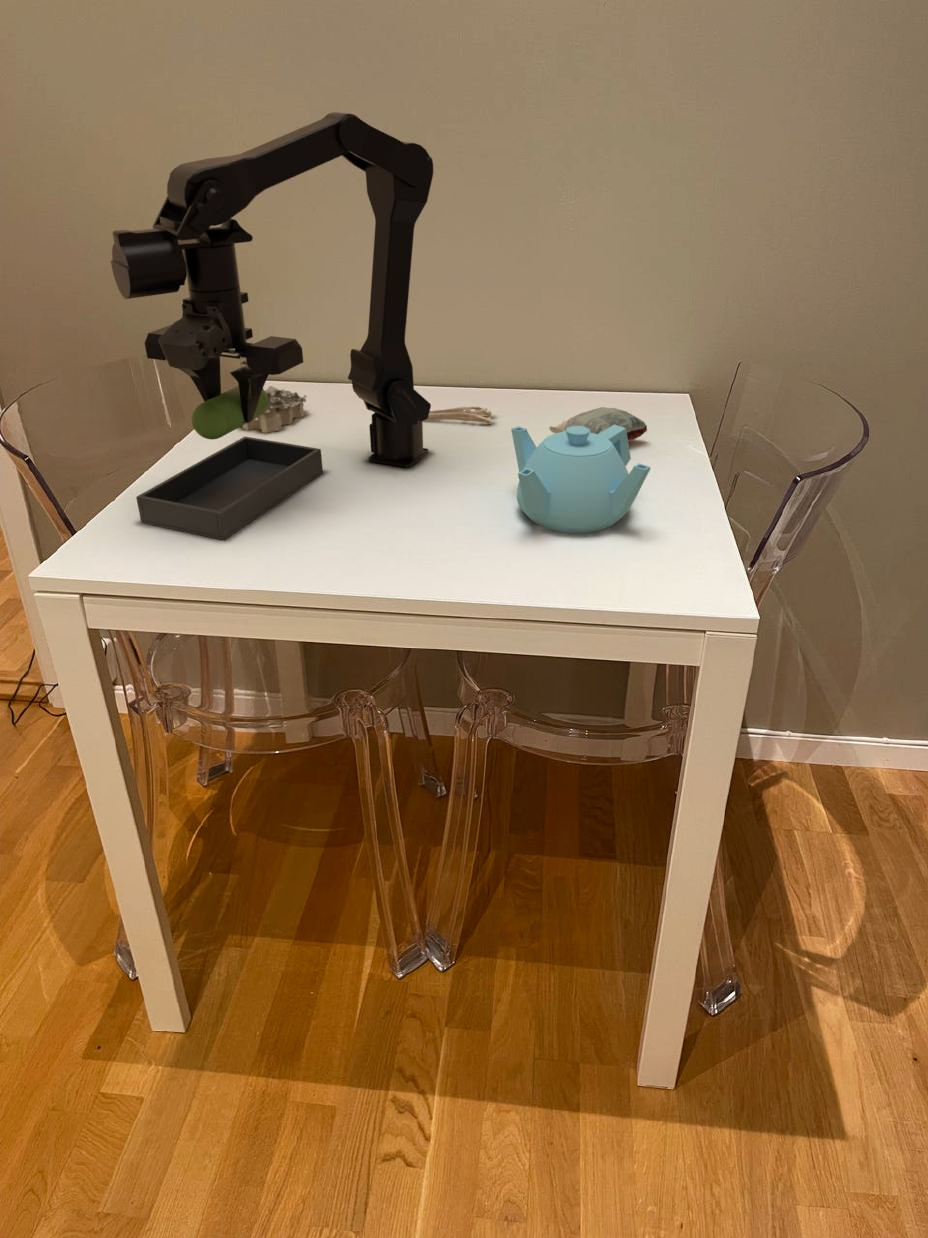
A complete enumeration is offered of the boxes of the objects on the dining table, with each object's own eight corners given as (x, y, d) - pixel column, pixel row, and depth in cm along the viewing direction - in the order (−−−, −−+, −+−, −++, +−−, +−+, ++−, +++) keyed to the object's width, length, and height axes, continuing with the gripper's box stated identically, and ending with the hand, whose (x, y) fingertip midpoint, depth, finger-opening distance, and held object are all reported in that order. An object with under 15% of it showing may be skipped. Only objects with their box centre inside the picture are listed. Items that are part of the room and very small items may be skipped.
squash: (276, 414, 120) (272, 379, 117) (217, 446, 110) (212, 410, 108) (247, 409, 121) (243, 375, 119) (187, 441, 112) (181, 405, 109)
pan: (323, 472, 127) (321, 448, 126) (224, 540, 110) (220, 513, 108) (247, 459, 132) (244, 436, 130) (141, 522, 114) (135, 496, 113)
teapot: (646, 540, 110) (655, 452, 104) (516, 541, 109) (519, 453, 104) (625, 487, 123) (632, 407, 117) (509, 488, 122) (511, 408, 117)
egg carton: (272, 435, 140) (269, 408, 138) (231, 428, 143) (227, 401, 141) (312, 413, 148) (310, 387, 146) (273, 406, 151) (270, 381, 149)
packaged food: (548, 444, 136) (550, 411, 133) (606, 426, 142) (608, 394, 139) (591, 463, 130) (594, 428, 127) (649, 443, 136) (653, 410, 134)
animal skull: (492, 415, 147) (491, 402, 146) (491, 426, 143) (490, 413, 142) (381, 421, 148) (379, 408, 147) (377, 431, 144) (375, 419, 143)
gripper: (99, 294, 104) (127, 430, 112) (241, 309, 98) (259, 452, 106) (165, 275, 113) (186, 402, 121) (299, 287, 106) (311, 421, 114)
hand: (232, 419), depth 115 cm, fingers closed on squash, 4 cm apart
